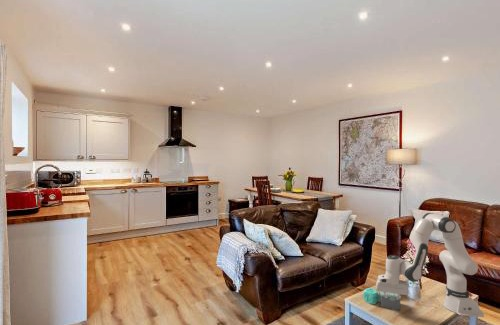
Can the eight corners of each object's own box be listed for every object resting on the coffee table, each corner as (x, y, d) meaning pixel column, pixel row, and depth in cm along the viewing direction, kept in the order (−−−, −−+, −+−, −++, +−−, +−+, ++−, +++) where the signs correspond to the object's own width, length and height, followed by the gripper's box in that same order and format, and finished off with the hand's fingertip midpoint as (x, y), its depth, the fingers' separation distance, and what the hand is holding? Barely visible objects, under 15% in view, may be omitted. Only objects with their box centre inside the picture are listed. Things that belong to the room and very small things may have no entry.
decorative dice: (362, 300, 202) (363, 289, 202) (369, 297, 206) (369, 287, 206) (372, 305, 195) (373, 294, 195) (378, 302, 200) (379, 291, 199)
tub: (396, 302, 199) (396, 291, 199) (399, 310, 190) (400, 298, 190) (378, 299, 203) (379, 289, 203) (381, 307, 193) (381, 296, 193)
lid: (397, 292, 199) (397, 289, 199) (402, 303, 185) (402, 299, 185) (378, 290, 203) (378, 286, 203) (382, 300, 189) (382, 296, 189)
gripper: (407, 279, 189) (407, 298, 189) (375, 275, 194) (375, 294, 195) (410, 283, 183) (409, 303, 183) (377, 279, 188) (376, 298, 189)
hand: (391, 298), depth 189 cm, fingers open, 5 cm apart
